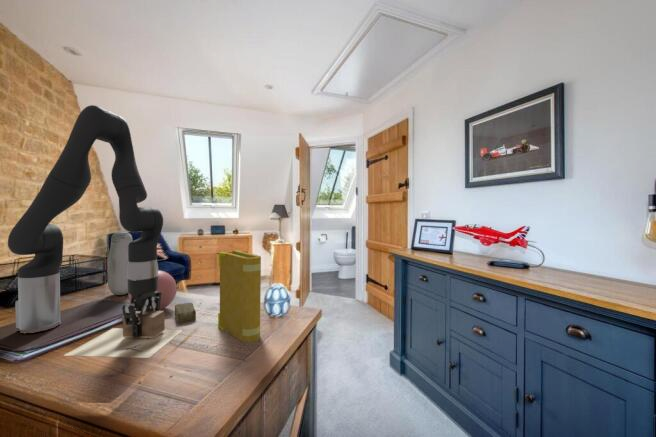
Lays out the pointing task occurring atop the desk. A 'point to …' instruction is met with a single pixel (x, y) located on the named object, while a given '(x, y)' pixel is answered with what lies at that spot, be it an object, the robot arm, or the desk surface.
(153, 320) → the block
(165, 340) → the birch board
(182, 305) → the stone block
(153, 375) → the desk surface
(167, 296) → the pink egg
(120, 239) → the grey vase
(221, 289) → the book
